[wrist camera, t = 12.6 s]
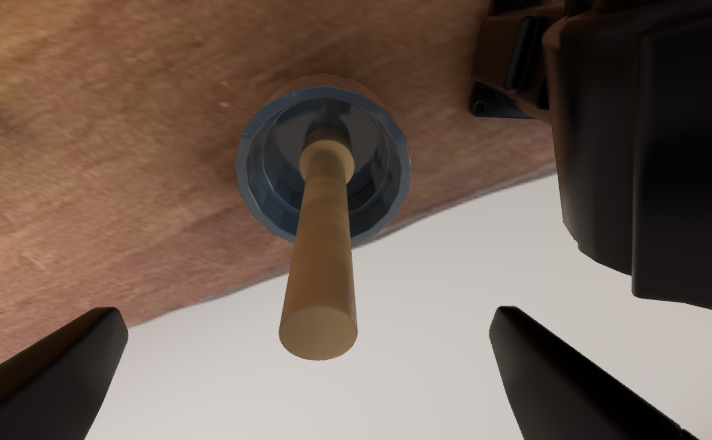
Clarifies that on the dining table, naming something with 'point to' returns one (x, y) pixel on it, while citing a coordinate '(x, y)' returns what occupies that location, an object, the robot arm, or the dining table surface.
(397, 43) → the dining table surface
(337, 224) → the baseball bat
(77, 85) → the dining table surface
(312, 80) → the bowl
